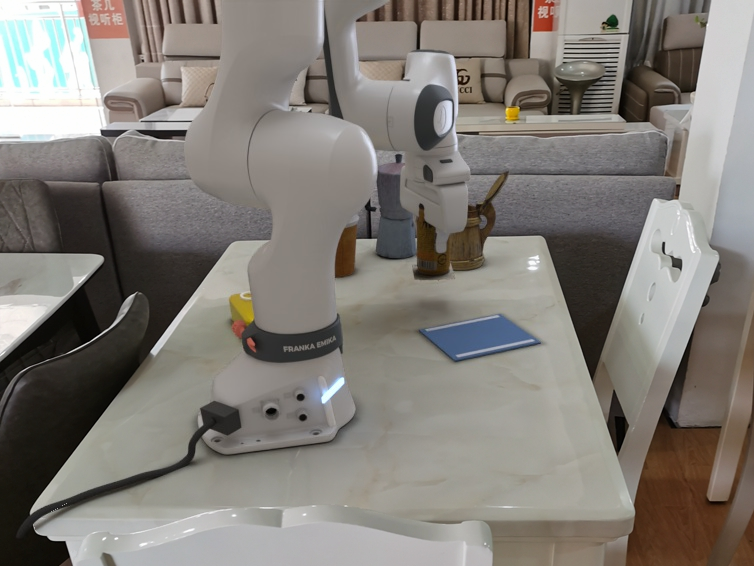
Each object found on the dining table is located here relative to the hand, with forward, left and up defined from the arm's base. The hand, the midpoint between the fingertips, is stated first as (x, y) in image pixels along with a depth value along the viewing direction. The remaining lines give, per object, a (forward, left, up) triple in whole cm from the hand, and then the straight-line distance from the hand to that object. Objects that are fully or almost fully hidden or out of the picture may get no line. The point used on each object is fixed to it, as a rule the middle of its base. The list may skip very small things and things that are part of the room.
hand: (431, 246), depth 139 cm
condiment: (0, -1, -5) cm, 5 cm away
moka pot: (+6, +32, -11) cm, 34 cm away
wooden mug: (+18, +18, -11) cm, 28 cm away
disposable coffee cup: (-9, +26, -11) cm, 30 cm away
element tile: (-28, +4, -11) cm, 30 cm away
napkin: (+1, -17, -11) cm, 20 cm away
